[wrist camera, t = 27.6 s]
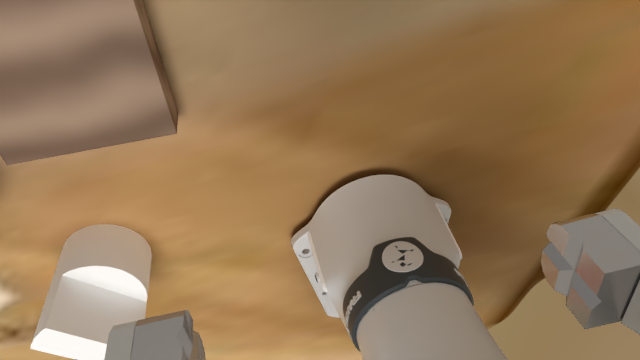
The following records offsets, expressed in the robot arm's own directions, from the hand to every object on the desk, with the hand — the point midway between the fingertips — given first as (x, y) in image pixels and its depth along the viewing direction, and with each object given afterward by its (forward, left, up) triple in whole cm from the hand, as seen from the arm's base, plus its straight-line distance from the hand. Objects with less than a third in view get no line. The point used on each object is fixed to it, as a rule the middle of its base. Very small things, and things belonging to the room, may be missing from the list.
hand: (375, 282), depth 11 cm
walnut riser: (-5, +16, -35) cm, 38 cm away
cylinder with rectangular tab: (-27, +21, -34) cm, 48 cm away
